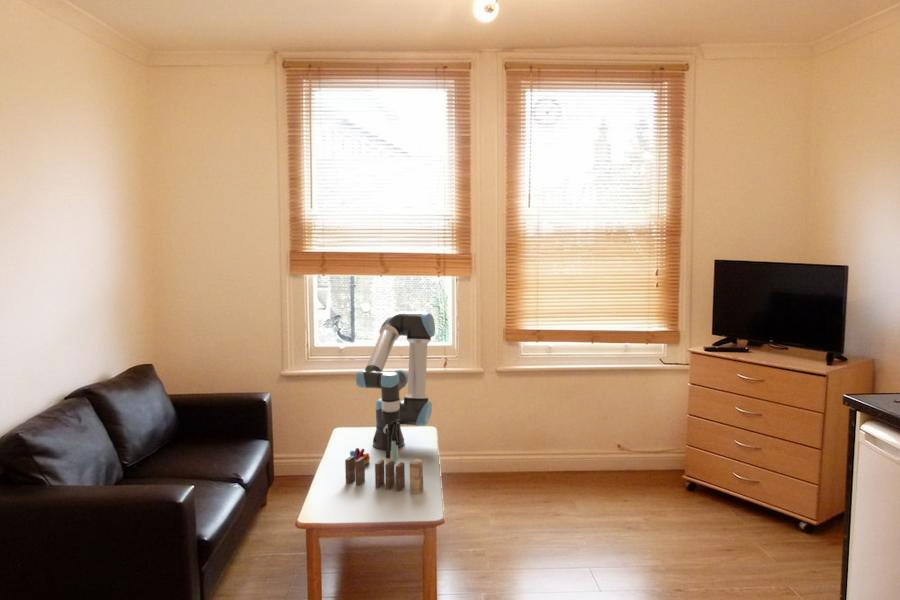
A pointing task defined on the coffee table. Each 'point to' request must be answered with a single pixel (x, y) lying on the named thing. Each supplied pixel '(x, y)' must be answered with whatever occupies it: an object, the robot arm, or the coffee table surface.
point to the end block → (416, 476)
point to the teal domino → (393, 451)
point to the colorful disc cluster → (360, 455)
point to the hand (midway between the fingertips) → (392, 462)
